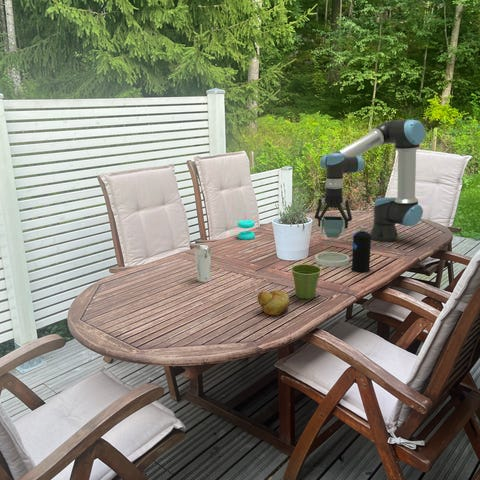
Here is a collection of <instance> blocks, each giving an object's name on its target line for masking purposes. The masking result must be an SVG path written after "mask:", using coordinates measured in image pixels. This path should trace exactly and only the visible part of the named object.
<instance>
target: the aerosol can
mask: <svg viewBox="0 0 480 480" xmlns="http://www.w3.org/2000/svg"><path fill="white" fill-rule="evenodd" d="M371 238H372V236H371V235H370V232H367V231H366V227H365V226H362V225H361V226H360V229H359V231H357V232H355V233H354V234H353V235H352V254H351V255H352V256H351V257H352V260H351V267H350V269H351V271H352V272H355V273H362V274H363V273H368V272H369V271H371V269H370V265H371V262H370V261H371V245H372V239H371Z"/></svg>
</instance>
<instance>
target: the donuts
mask: <svg viewBox="0 0 480 480" xmlns="http://www.w3.org/2000/svg"><path fill="white" fill-rule="evenodd" d="M255 225H256V224H255V221H254V220H251V219H244V220H243V219H241V220H239V221H238V222H237V227H239V228H240V229H243V230H244V229H245V230H244V231H243V230H242V231H240V232H239V233H238V234H237V238H238V239H240V240H241V241H249V240H253V239H255V237H256V235H255V234H256V233H254V232H253V231H251V230H249V229H252V228H254V227H255ZM246 229H248V230H246Z"/></svg>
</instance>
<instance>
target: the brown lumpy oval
mask: <svg viewBox="0 0 480 480" xmlns="http://www.w3.org/2000/svg"><path fill="white" fill-rule="evenodd" d="M257 302H258V305H259V306H261V310H262V311H263V312H264V314H267V315H270V316H278V315H280V314H282V313H284V312H285V311H287V310H288V309H289V306H290V304H291V303H290V302H291V301H290V297H289V296H288V294H287V293H286V292H285V291H283V290H278V289H277V290H272V291H270V292H267V291H261V292H259V293H258V294H257Z"/></svg>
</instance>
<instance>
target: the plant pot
mask: <svg viewBox="0 0 480 480" xmlns="http://www.w3.org/2000/svg"><path fill="white" fill-rule="evenodd" d="M290 271H291V272H292V277H293V282H294V283H293V284H294V291H295V295H296V297H297V298H299V299H301V300H304V299H306V300H311V299H313V298H314V297H315V296H316V292H317V286H318V282H319V278H320V275H321V273H322V271H323V270H322V268H321V267H320V266H318V265H315V264H308V263H306V264H305V263H302V264H295V265H293V266H291V267H290Z"/></svg>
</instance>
